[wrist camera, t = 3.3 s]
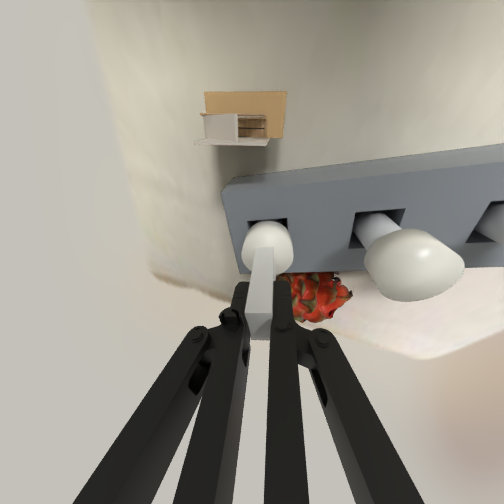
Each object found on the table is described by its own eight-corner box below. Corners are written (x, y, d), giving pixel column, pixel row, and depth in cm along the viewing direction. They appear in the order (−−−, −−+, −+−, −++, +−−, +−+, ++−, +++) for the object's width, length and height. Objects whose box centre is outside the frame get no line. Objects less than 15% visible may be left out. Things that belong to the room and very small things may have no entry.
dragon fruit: (264, 261, 30) (333, 261, 31) (263, 311, 30) (333, 311, 31) (272, 264, 22) (368, 264, 22) (271, 334, 22) (368, 333, 22)
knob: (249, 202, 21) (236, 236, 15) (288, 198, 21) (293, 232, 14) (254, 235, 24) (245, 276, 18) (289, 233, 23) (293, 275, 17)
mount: (233, 177, 21) (220, 193, 17) (527, 140, 16) (632, 147, 12) (246, 247, 27) (239, 273, 22) (468, 235, 22) (522, 266, 17)
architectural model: (214, 97, 18) (181, 83, 12) (285, 97, 17) (289, 82, 11) (218, 138, 20) (191, 144, 14) (281, 139, 19) (283, 146, 13)
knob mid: (347, 203, 17) (388, 250, 11) (401, 198, 16) (481, 246, 10) (340, 243, 20) (371, 301, 13) (387, 241, 19) (443, 301, 12)
